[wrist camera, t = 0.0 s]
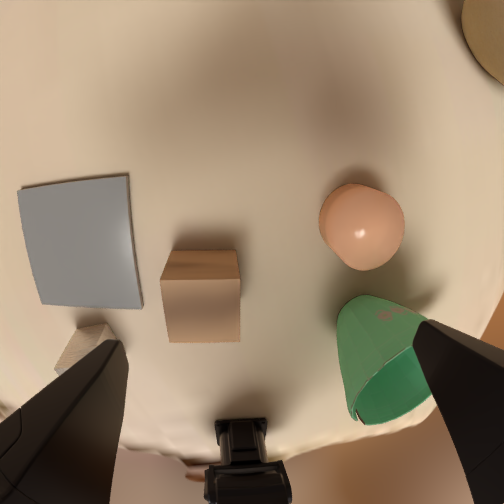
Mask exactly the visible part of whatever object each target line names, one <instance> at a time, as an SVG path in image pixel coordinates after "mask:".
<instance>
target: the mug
mask: <svg viewBox="0 0 504 504" xmlns="http://www.w3.org/2000/svg"><path fill="white" fill-rule="evenodd" d="M424 320H429V319H427V318H426V317H424V316H422V315H420V314H418V313H416V312H414V311H413V310H411V309H409V308H406V307H404V306H401V305H399V304H396V303H394V302H392V301H389V300H385V299H382V298H378V297H374V296H370V295H360V296H358V297H355V298H353V299H352V300H350V301H349V302H348V303H346V305H345V306H344V307H343V308H342V309H341V311H340V313H339V315H338V319H337V345H338V356H339V363H340V369H341V373H342V378H343V383H344V388H345V395H346V401H347V407H348V410H349V413H350V415H351V417H352V418H353V419H354V420H355V421H358V419H357V416H356V413H357V415H358V417H359V419H360V420H361V421H362V423H363V424H364V425H376V424H383V423H386V422H389V421H391V420H394V419H397V418H399V417H401V416H403V415H404V414H406V413H408V412H410V411H412V410H413V409H414V408H416V407H417V406H419V405H420V404H421V403H423V402H424V401H425V400H426V399H427V398H428V397H430V396H431V395H432V393H431V391H430V389H429V387H428V384H427V382H426V380H425V377H424V374H423V372H422V369H421V367H420V364H419V362H418V359H417V357H416V354H415V352H414V349H413V346H412V342H413V339H414V336H415V334H416V331H417V329H418V326H419V324H420V323H421V322H422V321H424Z"/></svg>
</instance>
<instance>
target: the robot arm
mask: <svg viewBox="0 0 504 504" xmlns="http://www.w3.org/2000/svg"><path fill="white" fill-rule="evenodd" d="M412 346H413V349H414V352H415V354H416V357H417V359H418V362H419V364H420V367H421V369H422V372H423V374H424V377H425V380H426V382H427V384H428V387H429V389H430V391H431V393H432V395H433V397H434V399H435V401H436V404H437V406H438V408H439V410H440V412H441V415H442V417H443V419H444V421H445V424H446V426H447V428H448V431H449V433H450V435H451V438H452V440H453V443H454V445H455V448H456V450H457V453H458V456H459V458H460V461H461V464H462V466H463V469H464V472H465V475H466V479H467V482H468V485H469V488H470V491H471V495H472V498H473V501H474V504H503V503H504V350H502V349H500V348H497V347H495V346H493V345H490V344H488V343H485V342H483V341H481V340H479V339H477V338H474V337H472V336H470V335H467V334H465V333H463V332H460V331H458V330H456V329H453V328H451V327H449V326H446V325H444V324H442V323H439V322H437V321H435V320H432V319H429V320H424V321H422V322H421V323H420V324H419V326H418V329H417V331H416V334H415V336H414V339H413V342H412ZM128 371H129V364H128V360H127V357H126V353H125V350H124V347H123V344H122V342H121V341H120V340H115V339H106V340H105V341H103V342H102V343H101V344H100V345H98V346H97V347H96V348H94V349H93V350H92V351H90V352H89V353H88V354H87V355H85V356H84V357H83V358H81V359H80V360H79V361H78V362H76V363H75V364H74V365H73V366H71V367H70V368H69V369H67V370H66V371H65V372H64V373H62V374H61V375H60V376H59V377H57V378H56V379H55V380H54V381H52V382H51V383H50V384H49V385H47V386H46V387H45V388H43V389H42V390H41V391H40V392H39V393H37V394H36V395H35V396H34V397H32V398H31V399H30V400H29V401H27V402H26V403H25V404H24V405H22V406H21V408H19V409H17V410H16V411H15V412H14V413H13V414H11V415H10V416H9V417H7V418H6V419H5V420H4V421H2V422H1V423H0V504H109V502H110V493H111V486H112V478H113V472H114V466H115V459H116V453H117V448H118V442H119V437H120V432H121V427H122V422H123V416H124V408H125V397H126V388H127V379H128ZM266 429H267V419H266V418H260V419H247V420H227V421H216V422H215V430H216V437H217V444H218V445H219V446H220V455H221V465H218V466H214V465H209V469H207V470H205V488H204V499H205V500H207V501H208V502H209V504H291V502H292V491H291V486H290V482H289V479H288V476H287V473H286V470H285V468H284V464H283V461H282V460H278V461H275V462H268V457H267V451H266V446H265V436H266Z"/></svg>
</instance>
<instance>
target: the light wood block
mask: <svg viewBox="0 0 504 504" xmlns="http://www.w3.org/2000/svg"><path fill="white" fill-rule="evenodd" d="M106 339H115V340H117V339H116V337H115V335H114V334H113V332H112V330H111V328H110V327H109V325H108V323H103V324H98V325H93V326H88V327H83V328H78V329H76V331H75V333H74V334H73V336H72V338H71V339H70V341H69V343H68V345H67V346H66V348H65V350H64V352H63V353H62V355H61V357H60V359H59V361H58V362H57V364H56V366H55V368H54V370H55V371H56V372H57V374H58V375H59V376H60V375H61V374H62V373H64V372H65V371H66V370H67V369H69V368H70V367H71V366H73V365H74V364H75V363H76V362H78V361H79V360H80V359H81V358H83V357H84V356H85V355H87V354H88V353H89V352H90V351H92V350H93V349H94V348H96V347H97V346H98V345H100V344H101V343H102V342H103V341H105V340H106Z"/></svg>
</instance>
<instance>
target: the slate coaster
mask: <svg viewBox="0 0 504 504" xmlns="http://www.w3.org/2000/svg"><path fill="white" fill-rule="evenodd" d="M17 194H18V203H19V210H20V217H21V223H22V228H23V234H24V239H25V244H26V248H27V253H28V257H29V261H30V265H31V269H32V273H33V276H34V280H35V283H36V287H37V290H38V293H39V296H40V300H41V303H42V304H45V305H58V306H73V307H90V308H112V309H142V308H143V300H142V295H141V289H140V283H139V277H138V270H137V263H136V256H135V248H134V240H133V231H132V221H131V210H130V196H129V179H128V176H116V177H106V178H96V179H87V180H79V181H71V182H64V183H57V184H50V185H43V186H37V187H31V188H26V189H21V190H18V191H17Z"/></svg>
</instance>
